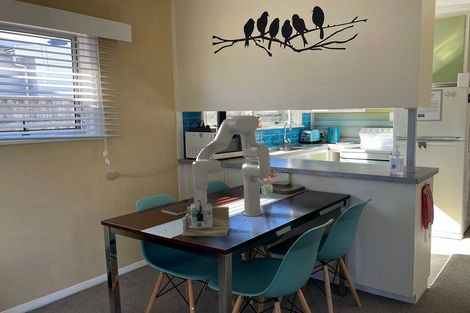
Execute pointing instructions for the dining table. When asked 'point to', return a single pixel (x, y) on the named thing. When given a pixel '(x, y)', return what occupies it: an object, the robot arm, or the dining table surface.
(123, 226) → the dining table surface
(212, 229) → the shelf
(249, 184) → the robot arm
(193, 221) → the light bulb box
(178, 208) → the hardcover book
